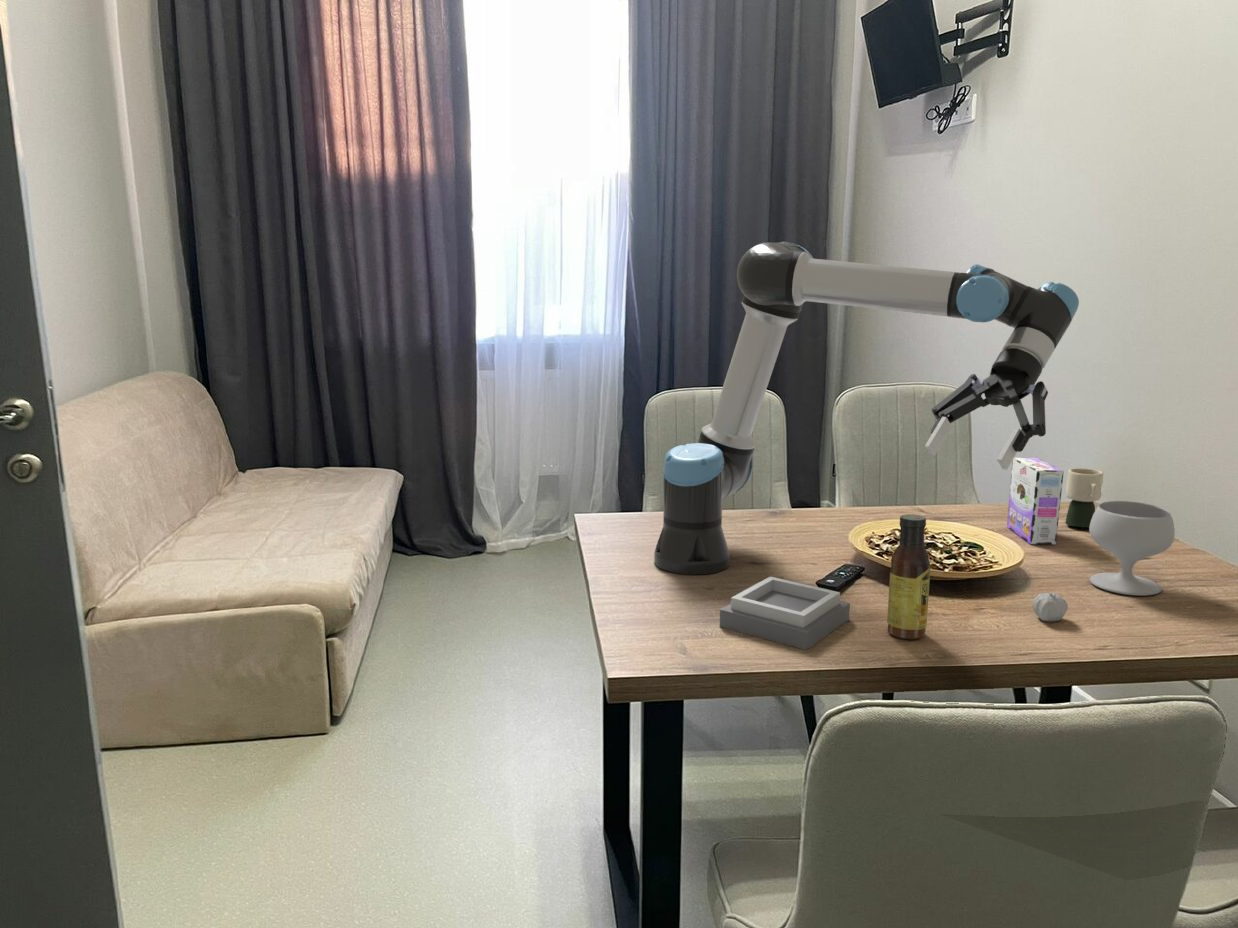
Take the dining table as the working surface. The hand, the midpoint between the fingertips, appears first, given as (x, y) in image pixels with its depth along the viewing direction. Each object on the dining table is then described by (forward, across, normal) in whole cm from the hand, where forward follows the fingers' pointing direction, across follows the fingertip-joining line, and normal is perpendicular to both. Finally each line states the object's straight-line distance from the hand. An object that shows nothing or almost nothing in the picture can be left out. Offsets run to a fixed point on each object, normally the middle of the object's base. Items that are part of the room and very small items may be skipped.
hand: (964, 457), depth 161 cm
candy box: (-19, +18, -59) cm, 64 cm away
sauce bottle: (+29, 0, -11) cm, 31 cm away
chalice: (-7, -11, -47) cm, 49 cm away
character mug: (-30, +15, -70) cm, 77 cm away
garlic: (+12, -11, -28) cm, 32 cm away
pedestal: (+38, +15, -2) cm, 41 cm away
